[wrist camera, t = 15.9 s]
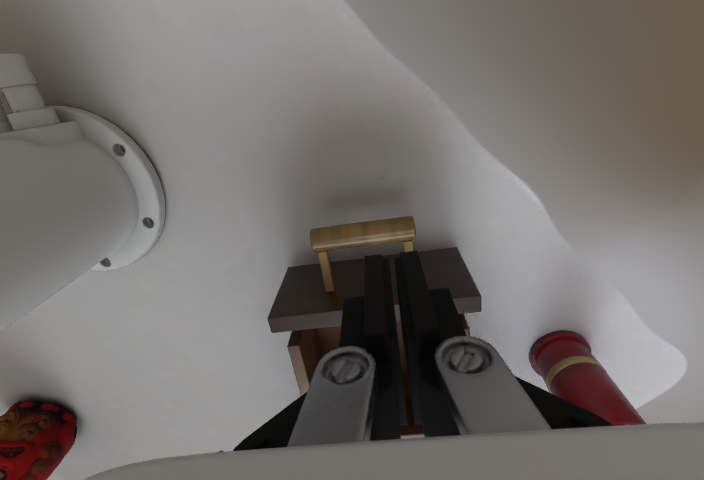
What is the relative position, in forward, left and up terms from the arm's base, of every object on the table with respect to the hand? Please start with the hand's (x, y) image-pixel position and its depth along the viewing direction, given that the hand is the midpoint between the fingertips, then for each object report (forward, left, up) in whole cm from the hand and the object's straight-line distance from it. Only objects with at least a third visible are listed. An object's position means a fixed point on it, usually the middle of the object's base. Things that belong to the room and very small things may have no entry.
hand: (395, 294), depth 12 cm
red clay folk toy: (+22, -38, -17) cm, 47 cm away
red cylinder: (+19, +13, -17) cm, 28 cm away
